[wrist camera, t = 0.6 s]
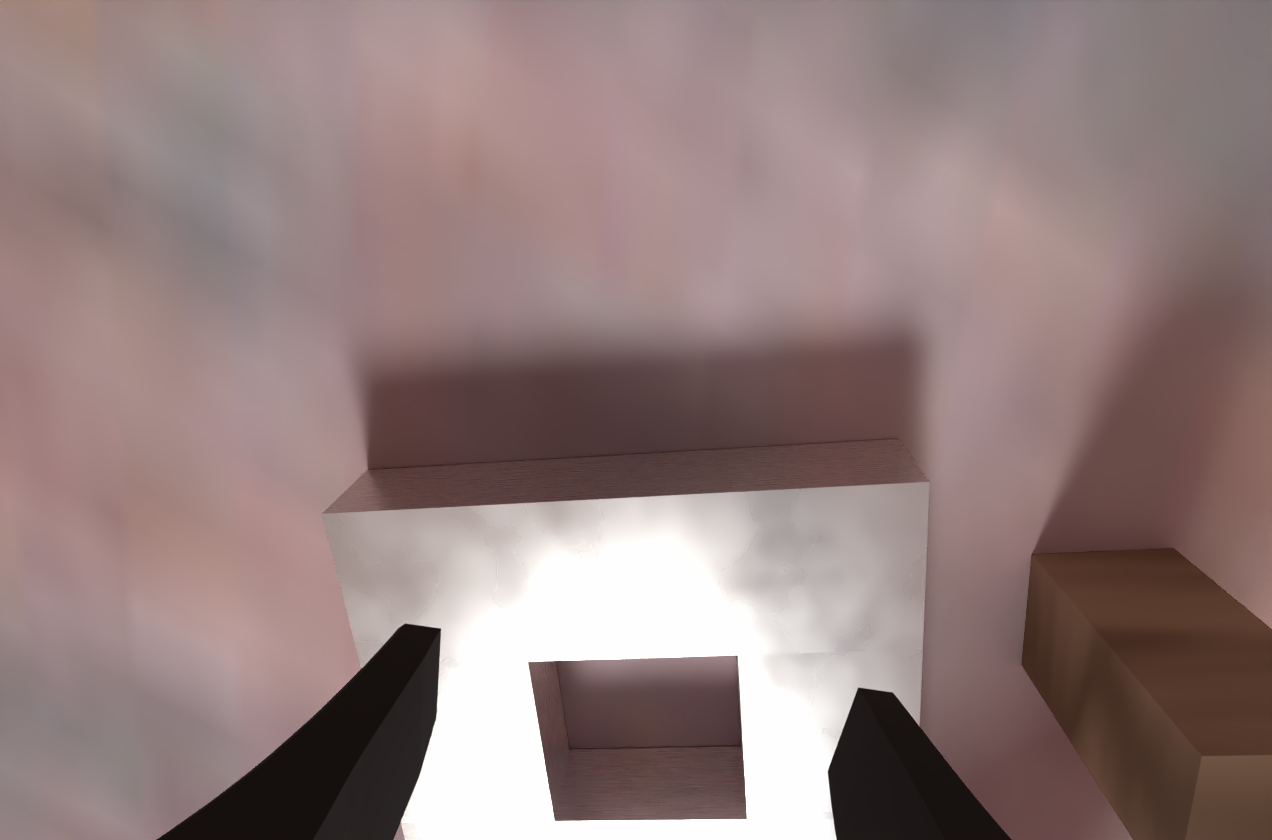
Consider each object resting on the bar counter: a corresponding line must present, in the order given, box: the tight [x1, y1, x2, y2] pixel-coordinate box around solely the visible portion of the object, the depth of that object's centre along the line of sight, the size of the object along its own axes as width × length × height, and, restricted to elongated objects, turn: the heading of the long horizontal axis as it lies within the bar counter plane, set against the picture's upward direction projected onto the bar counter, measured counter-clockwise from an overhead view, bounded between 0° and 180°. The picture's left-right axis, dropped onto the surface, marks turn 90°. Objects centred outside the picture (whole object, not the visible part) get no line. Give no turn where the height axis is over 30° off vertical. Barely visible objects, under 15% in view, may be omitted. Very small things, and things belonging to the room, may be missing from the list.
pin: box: [1021, 548, 1272, 840], centre depth 19 cm, size 4×4×8 cm
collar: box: [322, 439, 930, 840], centre depth 23 cm, size 16×16×3 cm
